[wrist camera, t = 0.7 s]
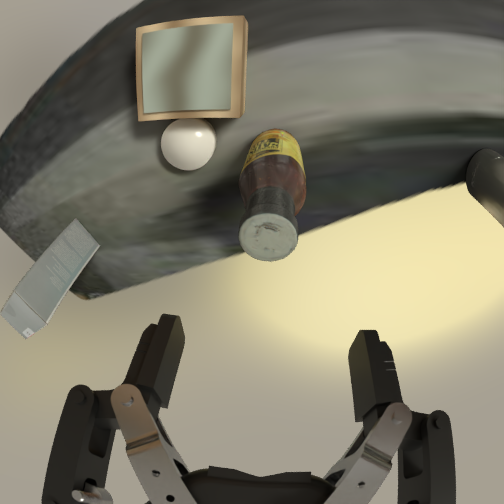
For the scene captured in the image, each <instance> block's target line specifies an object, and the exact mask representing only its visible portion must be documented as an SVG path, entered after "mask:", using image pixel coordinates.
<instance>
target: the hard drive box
mask: <svg viewBox="0 0 504 504" xmlns="http://www.w3.org/2000/svg"><path fill="white" fill-rule="evenodd" d="M99 247H100V245H99V244H98V243H97V242H96V241H95V239H94V238H93V237H92V236H91V235H90V234H89V233H88V231H87V230H86V229H85V228H84V227H83V226H82V224H81V223H80V222H79V221H78V220H77V219H75V220H73V221H72V222H71V223H70V224H69V225H68V226H67V227H66V228H65V230H64V231H63V232H62V233H61V234H60V235H59V236H58V237H57V238H56V239H55V240H54V241H53V243H52V244H51V245H50V246H49V247H48V248H47V249H46V250H45V252H44V253H43V254H42V255H41V256H40V257H39V259H38V260H37V261H36V262H35V264H34V265H33V266H32V267H31V268H30V270H29V271H28V272H27V273H26V275H25V276H24V277H23V278H22V280H21V281H20V282H19V283H18V285H17V286H16V287H15V289H14V290H13V292H12V293H11V295H10V296H9V298H8V300H7V301H6V303H5V305H4V306H3V308H2V310H1V315H2V316H3V317H4V318H5V320H7V322H9V324H10V325H11V326H12V327H13V328H14V329H15V330H17V331H18V332H19V333H20V334H21V335H22V336H23V337H24V338H25V339H27V338H28V337H30V336H31V335H33V334H34V333H35V332H37V331H39V330H40V329H42V328H43V327H44V326H46V325H48V322H49V321H50V319H51V317H52V316H53V314H54V312H55V311H56V309H57V307H58V306H59V304H60V302H61V301H62V299H63V298H64V296H65V295H66V293H67V292H68V290H69V289H70V287H71V286H72V284H73V283H74V281H75V280H76V278H77V277H78V276H79V274H80V273H81V271H82V270H83V269H84V267H85V266H86V264H87V263H88V262H89V260H90V259H91V258H92V256H93V255H94V253H95V252H96V251H97V250H98V248H99Z"/></svg>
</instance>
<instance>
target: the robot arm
mask: <svg viewBox="0 0 504 504" xmlns="http://www.w3.org/2000/svg"><path fill="white" fill-rule="evenodd" d="M466 185H467V189H468V191H469V193H470V194H471V195H472V196H473V197H474V198H475V199H476V200H477V201H478V202H479V203H480V204H481V205H482V206H483V207H484V208H485V209H486V210H487V211H489V213H490V214H491V215H492V216H493V217H494V218H495V219H496V220H497V221H498V222H499V223H500V224H501V225H502V226H503V227H504V157H503V156H501V155H500V154H498V153H496V152H495V151H493V150H491V149H482V150H480V151H478V152H477V153H476V154H475V155H474V156H473V157H472V159H471V161H470V163H469V165H468V168H467V173H466ZM184 344H185V335H184V331H183V327H182V323H181V319H180V317H179V316H176V315H168V314H162V315H161V317H160V320H159V322H158V325H156V324H150V325H149V326H148V327H147V328H146V329H145V330H144V332H143V334H142V336H141V339H140V341H139V344H138V346H137V349H136V352H135V354H134V356H133V359H132V362H131V364H130V367H129V370H128V372H127V375H126V378H125V380H124V382H123V383H122V384H121V385H120V386H118V387H116V388H115V389H113V390H101V391H92V390H91V389H90V388H89V387H87V386H85V385H77V386H75V387H73V388H72V389H71V390H70V392H69V393H68V396H67V399H66V402H65V405H64V408H63V411H62V414H61V417H60V421H59V424H58V427H57V431H56V434H55V438H54V442H53V446H52V450H51V454H50V458H49V463H48V467H47V472H46V477H45V482H44V488H43V494H42V504H113V499H112V497H111V495H110V493H109V492H108V491H107V490H105V489H104V487H105V481H106V476H107V471H108V465H109V460H110V455H111V450H112V446H113V441H114V437H115V432H116V429H121V431H122V434H123V436H124V439H125V441H126V445H127V446H126V453H127V456H128V458H129V460H130V462H131V465H132V467H133V469H134V471H135V473H136V475H137V477H138V479H139V481H140V483H141V485H142V487H143V489H144V491H145V492H146V494H147V496H148V498H149V501H148V502H147V503H145V504H368V503H369V502H370V500H371V499H372V497H373V496H374V495H375V493H376V492H377V490H378V489H379V487H380V486H381V484H382V483H383V481H384V480H385V478H386V477H387V475H388V473H389V472H390V470H391V468H392V463H391V460H392V458H393V456H394V454H395V452H396V451H397V449H398V504H456V476H455V458H454V447H453V438H452V430H451V423H450V418H449V416H448V415H447V414H446V413H445V412H444V411H441V410H436V411H434V412H432V413H431V414H424V413H418V412H414V411H411V410H410V409H409V407H408V406H407V405H405V404H404V403H403V400H402V396H401V391H400V386H399V381H398V377H397V372H396V370H395V369H396V368H395V364H394V359H393V355H392V351H391V349H390V348H389V346H388V345H387V343H386V342H385V341H382V342H380V340H379V336H378V332H377V331H376V330H360V331H359V332H358V334H357V336H356V338H355V340H354V342H353V343H352V345H351V347H350V350H349V356H348V359H349V367H350V376H351V384H352V392H353V402H354V412H355V422H362V421H363V428H362V429H361V431H360V432H359V434H358V435H357V437H356V438H355V440H354V441H353V443H352V444H351V445H350V447H349V448H348V450H347V451H346V452H345V454H344V455H343V456H342V458H341V459H340V460H339V461H338V462H337V463H336V464H335V465H334V466H333V467H332V468H331V469H330V470H329V471H328V473H327V474H326V475H325V476H324V478H323V479H322V478H320V477H317V476H314V475H311V472H285V473H280V474H275V475H270V476H265V477H257V476H254V475H250V474H247V473H244V472H241V471H238V470H235V469H228V468H221V467H214V466H209V468H208V469H200V470H196V471H193V472H190V471H189V469H188V468H187V466H186V464H185V463H184V461H183V459H182V458H181V456H180V454H179V453H178V452H177V450H176V449H175V447H174V445H173V444H172V442H171V440H170V438H169V436H168V434H167V432H166V430H165V428H164V426H163V424H162V422H161V420H160V418H159V416H158V413H159V410H160V407H162V408H168V404H169V400H170V395H171V392H172V389H173V385H174V381H175V377H176V374H177V370H178V366H179V363H180V359H181V356H182V352H183V348H184ZM358 486H359V487H358Z"/></svg>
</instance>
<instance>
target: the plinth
mask: <svg viewBox="0 0 504 504" xmlns="http://www.w3.org/2000/svg"><path fill="white" fill-rule="evenodd" d="M247 39H248V23H247V21H246V19H245V17H244V16H220V17H205V18H194V19H185V20H178V21H171V22H165V23H159V24H154V25H149V26H144V27H139V28H136V86H137V106H138V121H149V120H161V119H178V118H240V117H241V116H242V115H243V114H244V112H245V89H246V63H247Z"/></svg>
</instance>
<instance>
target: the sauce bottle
mask: <svg viewBox="0 0 504 504" xmlns="http://www.w3.org/2000/svg"><path fill="white" fill-rule="evenodd" d="M305 184H306V179H305V173H304V167H303V162H302V157H301V152H300V147H299V145H298V143H297V141H296V140H295V138H294V137H293V136H292V135H291V134H290V133H288V132H287V131H284V130H280V129H271V130H268V131H265V132H262V134H260V135H258V136H257V137H256V139H255V140H254V141H253V143H252V145H251V148H250V150H249V153H248V155H247V158H246V161H245V164H244V166H243V169H242V172H241V174H240V178H239V189H240V192H241V196H242V199H243V202H244V205H245V209H246V212H245V214H244V215H243V217H242V219H241V221H240V226H239V232H238V238H239V242H240V244H241V246H242V248H243V250H244V251H245V252H246V253H247V254H248V255H250V256H251V257H253V258H255V259H258V260H262V261H277V260H280V259H283V258H285V257H287V256H288V255H289V254H290V253H291V252H292V251H293V250H294V249H295V247H296V245H297V242H298V223H297V220H296V218H295V215H296V214H298V212H299V211H300V209H301V207H302V206H303V203H304V201H305V196H306V185H305Z"/></svg>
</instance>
